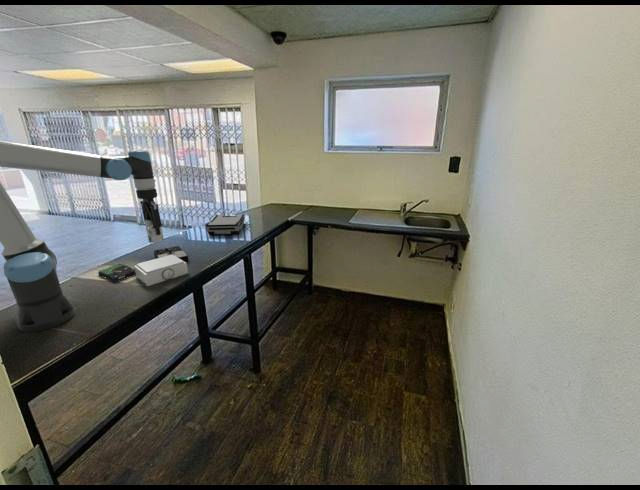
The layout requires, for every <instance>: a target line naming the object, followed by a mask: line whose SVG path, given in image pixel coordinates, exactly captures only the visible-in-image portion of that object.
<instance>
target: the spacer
mask: <svg viewBox="0 0 640 490" xmlns="http://www.w3.org/2000/svg"><path fill="white" fill-rule="evenodd" d="M144 224H145V230H146V235H147V239H148V242H149V243H152V244H155V243H157V242H155V237H154V232H153V229H152V227H153V224H152V220H151V219H148V220H145V222H144ZM160 230H161V235H162V240H163V241H164V240H165V239H164V238H165V237H164V234H163V228H162V226H161V227H160ZM161 242H162V241H160V242H159V243H161Z"/></svg>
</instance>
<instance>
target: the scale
mask: <svg viewBox="0 0 640 490" xmlns="http://www.w3.org/2000/svg"><path fill="white" fill-rule="evenodd" d="M133 267H134V268H133V269H135V273H136V275H135V276H136V278H137V279H138V280H140V281H141V282H142V283H143V284H144V283H145V284H144V285H145V286H146V287H150V286H152V285H156V284H159V283H162V282H165V281H169V280H172V279H175V278H177V277H181V276H185V275H187V274H189V270H188V264H187V262H184V261H183V260H181V259H179V258H178V257H176V256H174V255H168V256H165V257H161V258H157V259H156V258H154V259H151V260H146V261H143V262H140V263H136V265H133Z"/></svg>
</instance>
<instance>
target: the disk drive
mask: <svg viewBox="0 0 640 490" xmlns="http://www.w3.org/2000/svg"><path fill="white" fill-rule="evenodd" d="M97 274H98V276H100V277H102V276H103V277H102V278H104V277H106V278H105V279H107V278H108V279H107V280H109V279H110V281H111V280H112V281H111V282H114V281H115V282H114V283H117V282H116V281H118V282H120V281H123V280H125V279H124V278H126V279H128V278H127V277H129V278H131V277H134V276H136V273H135V268H133V267H130V266H127V265H125V264H121V263H118V264H115V265H112V266H110V267H107V268H103V269H100V270H98V273H97ZM133 275H134V276H133ZM130 276H131V277H130ZM122 279H123V280H122ZM119 280H120V281H119Z"/></svg>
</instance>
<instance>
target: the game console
mask: <svg viewBox="0 0 640 490" xmlns="http://www.w3.org/2000/svg"><path fill="white" fill-rule="evenodd" d="M245 220H246V214H237V215H225V214H216V215H215V216H214V217H213V218H212V219H211V220H210V221H208V222H207V223H206V224H204V225H205V226H204V227H205V231H206V232H207V235H209V236H219V235H226V234H227V235H228V236H233V235H235V236H237V235H239V234H240V232H241V230H242V228H243V227H244V224H245Z"/></svg>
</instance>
